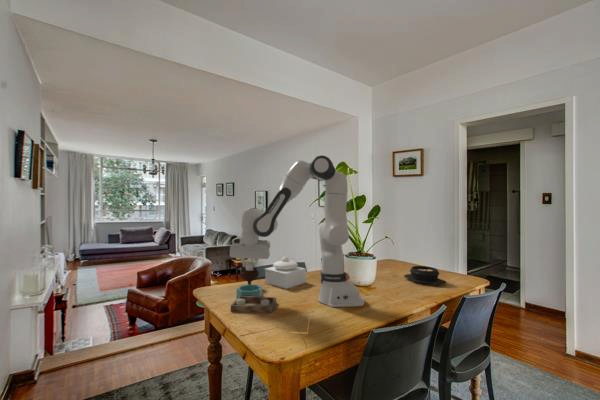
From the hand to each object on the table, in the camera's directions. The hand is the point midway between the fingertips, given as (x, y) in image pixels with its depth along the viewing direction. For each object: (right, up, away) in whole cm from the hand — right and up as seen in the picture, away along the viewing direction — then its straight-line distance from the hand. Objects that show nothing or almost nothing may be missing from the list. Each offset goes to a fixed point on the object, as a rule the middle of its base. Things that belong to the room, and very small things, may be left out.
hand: (249, 266), depth 146 cm
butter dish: (+17, -16, +27) cm, 36 cm away
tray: (+5, -15, -15) cm, 22 cm away
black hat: (+103, -17, +32) cm, 109 cm away
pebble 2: (0, -1, 0) cm, 1 cm away
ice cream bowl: (-3, -16, +15) cm, 22 cm away
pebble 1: (-1, -15, -17) cm, 23 cm away
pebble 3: (+10, -15, -18) cm, 26 cm away
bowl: (0, -15, 0) cm, 15 cm away
